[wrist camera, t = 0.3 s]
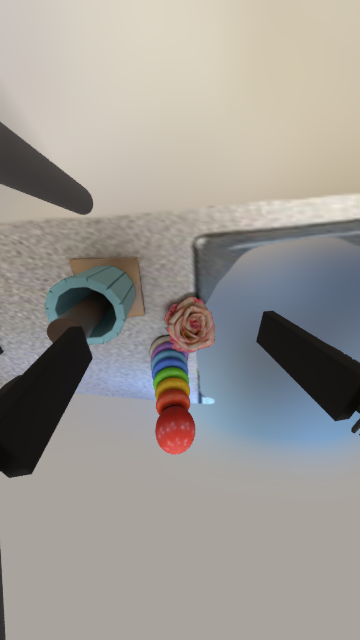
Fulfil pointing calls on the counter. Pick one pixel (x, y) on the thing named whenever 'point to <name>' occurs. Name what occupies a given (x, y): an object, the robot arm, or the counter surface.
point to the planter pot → (100, 280)
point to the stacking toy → (171, 397)
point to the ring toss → (97, 298)
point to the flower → (190, 325)
